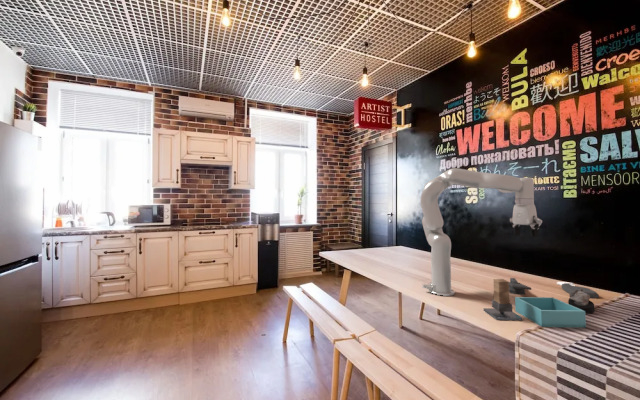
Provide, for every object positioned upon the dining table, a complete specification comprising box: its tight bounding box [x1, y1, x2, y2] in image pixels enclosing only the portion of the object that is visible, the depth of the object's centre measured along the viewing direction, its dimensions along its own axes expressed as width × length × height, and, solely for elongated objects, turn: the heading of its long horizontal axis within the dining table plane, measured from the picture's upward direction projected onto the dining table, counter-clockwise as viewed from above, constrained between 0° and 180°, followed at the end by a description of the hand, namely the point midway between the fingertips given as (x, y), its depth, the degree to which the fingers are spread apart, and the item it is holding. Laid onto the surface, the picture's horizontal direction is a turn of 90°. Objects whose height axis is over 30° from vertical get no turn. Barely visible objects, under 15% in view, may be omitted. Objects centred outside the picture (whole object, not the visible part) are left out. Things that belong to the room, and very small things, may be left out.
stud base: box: [483, 307, 524, 321], centre depth 115 cm, size 10×10×6 cm
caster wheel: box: [567, 289, 596, 314], centre depth 120 cm, size 7×11×10 cm
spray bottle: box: [556, 281, 600, 299], centre depth 146 cm, size 3×11×24 cm
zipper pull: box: [509, 277, 532, 296], centre depth 143 cm, size 9×7×25 cm
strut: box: [491, 278, 513, 312], centre depth 115 cm, size 5×5×12 cm
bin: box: [514, 296, 587, 328], centre depth 111 cm, size 16×16×6 cm
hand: (525, 236), depth 139 cm, fingers open, 9 cm apart
